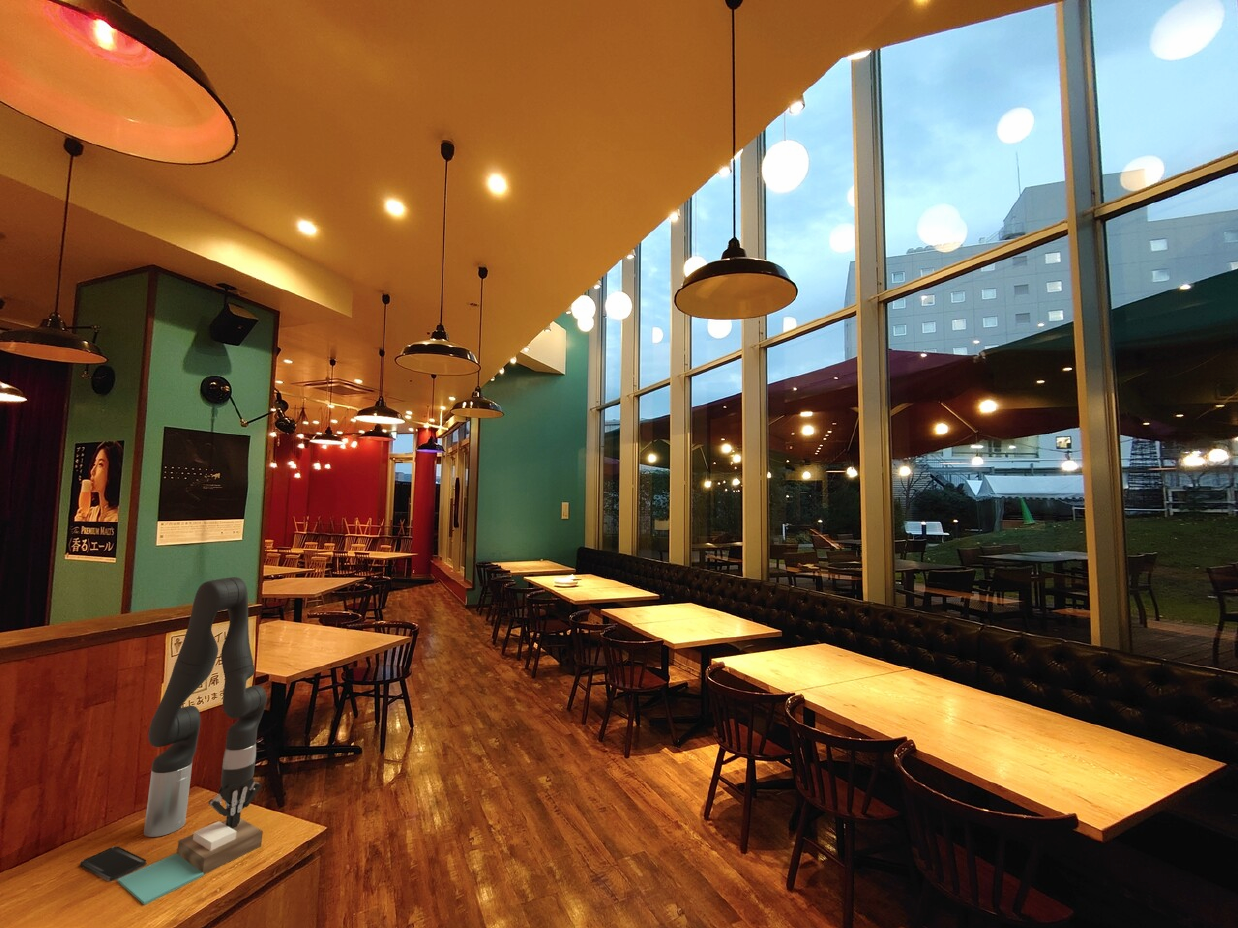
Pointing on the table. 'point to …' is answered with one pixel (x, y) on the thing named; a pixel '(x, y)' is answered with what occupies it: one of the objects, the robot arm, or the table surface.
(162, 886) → the mat
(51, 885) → the table surface
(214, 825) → the white rectangular block
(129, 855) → the phone
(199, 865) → the block
